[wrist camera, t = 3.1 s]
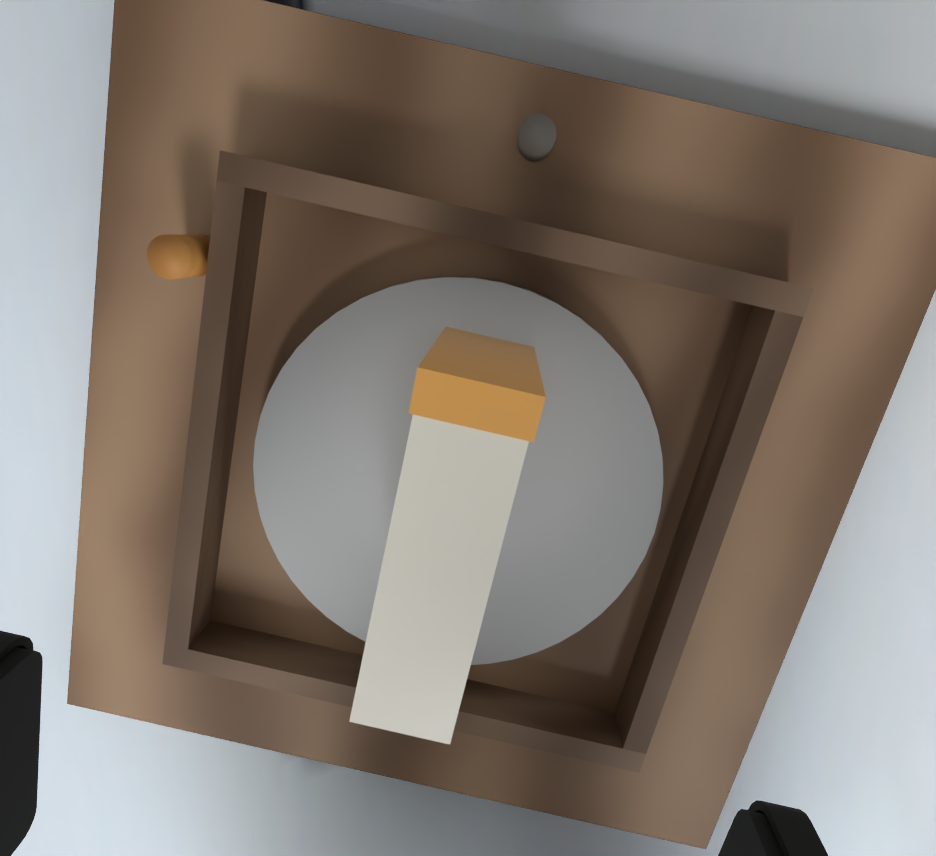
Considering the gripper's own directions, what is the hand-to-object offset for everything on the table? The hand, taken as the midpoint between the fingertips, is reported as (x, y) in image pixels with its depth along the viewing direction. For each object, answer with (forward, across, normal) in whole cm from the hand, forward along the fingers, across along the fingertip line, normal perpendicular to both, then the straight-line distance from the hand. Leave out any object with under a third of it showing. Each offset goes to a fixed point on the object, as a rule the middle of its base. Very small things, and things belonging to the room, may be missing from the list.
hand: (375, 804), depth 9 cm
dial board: (+15, 0, +1) cm, 15 cm away
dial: (+14, 0, +1) cm, 14 cm away
